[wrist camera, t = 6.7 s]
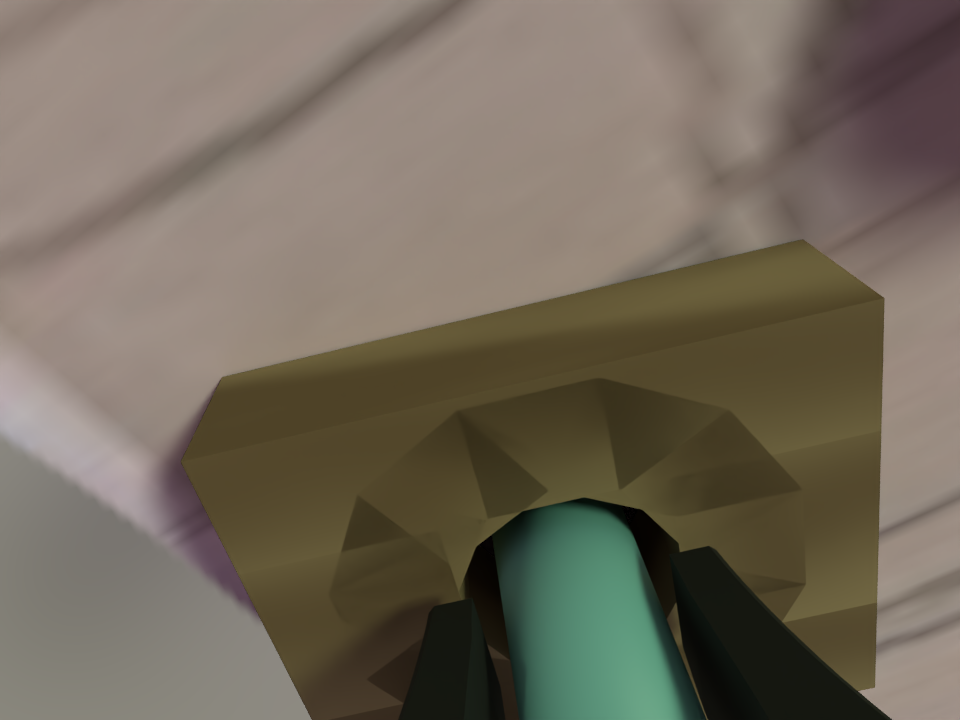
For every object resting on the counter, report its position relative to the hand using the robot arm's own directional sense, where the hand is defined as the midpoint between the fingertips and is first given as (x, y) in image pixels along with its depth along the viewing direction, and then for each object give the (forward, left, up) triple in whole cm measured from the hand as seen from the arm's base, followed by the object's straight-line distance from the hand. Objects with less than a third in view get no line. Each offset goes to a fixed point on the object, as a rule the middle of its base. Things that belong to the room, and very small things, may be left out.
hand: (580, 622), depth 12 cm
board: (0, 0, -3) cm, 3 cm away
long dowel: (0, 0, -3) cm, 3 cm away
